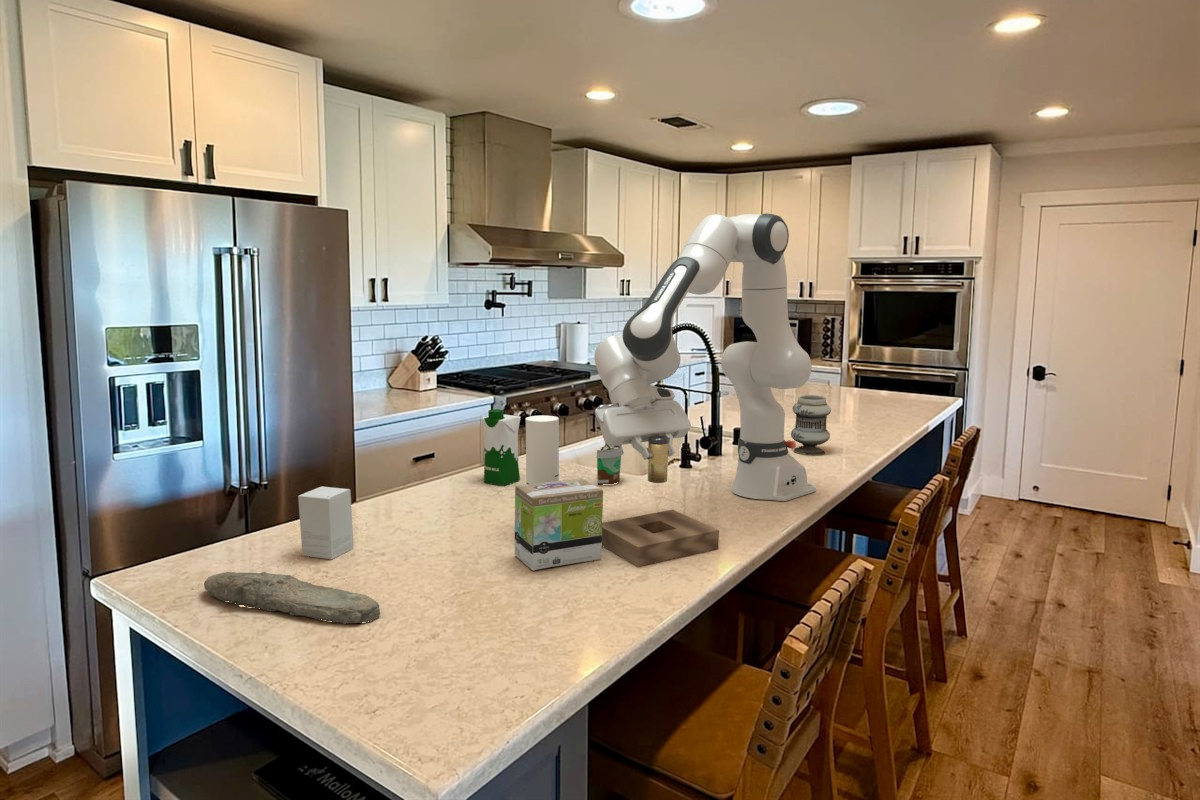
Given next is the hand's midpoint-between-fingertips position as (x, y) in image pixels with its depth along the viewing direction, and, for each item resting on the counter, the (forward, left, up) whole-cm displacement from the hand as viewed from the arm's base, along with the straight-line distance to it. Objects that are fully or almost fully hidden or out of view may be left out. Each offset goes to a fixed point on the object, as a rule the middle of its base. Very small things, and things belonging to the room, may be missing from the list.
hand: (659, 456), depth 155 cm
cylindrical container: (+16, -22, -19) cm, 33 cm away
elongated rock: (+71, -8, -20) cm, 74 cm away
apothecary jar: (-92, -47, -19) cm, 105 cm away
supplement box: (+60, -31, -19) cm, 70 cm away
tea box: (+21, -5, -19) cm, 29 cm away
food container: (-18, -48, -19) cm, 54 cm away
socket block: (0, -1, -19) cm, 19 cm away
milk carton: (+8, -63, -19) cm, 66 cm away
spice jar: (0, -1, -5) cm, 5 cm away
